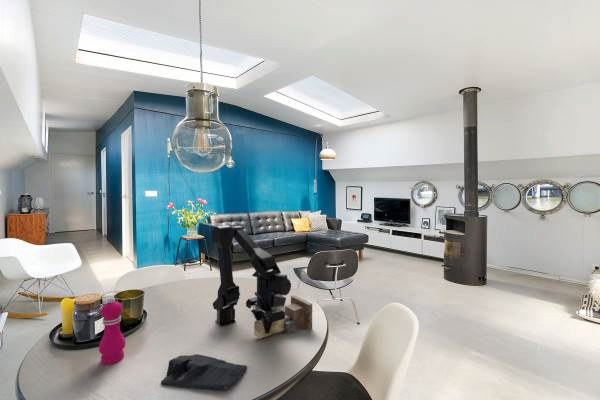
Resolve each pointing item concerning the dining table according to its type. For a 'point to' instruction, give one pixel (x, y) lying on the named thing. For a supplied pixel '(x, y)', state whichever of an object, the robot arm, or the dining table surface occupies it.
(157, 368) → the dining table surface
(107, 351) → the pepper mill
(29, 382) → the dining table surface
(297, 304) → the brown boxy piece
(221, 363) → the dark slate chunk
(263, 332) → the tan oblong piece
